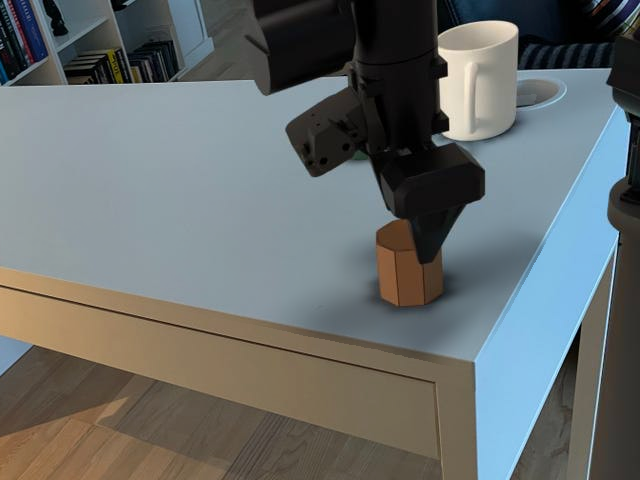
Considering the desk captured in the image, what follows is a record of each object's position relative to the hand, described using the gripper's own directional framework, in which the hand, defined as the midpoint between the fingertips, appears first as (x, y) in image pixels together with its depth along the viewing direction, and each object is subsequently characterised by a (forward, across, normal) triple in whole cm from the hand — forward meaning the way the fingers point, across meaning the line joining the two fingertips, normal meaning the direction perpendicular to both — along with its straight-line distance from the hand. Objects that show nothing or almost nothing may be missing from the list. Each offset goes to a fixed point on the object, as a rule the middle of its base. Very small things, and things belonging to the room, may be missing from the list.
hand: (408, 234), depth 64 cm
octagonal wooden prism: (+6, 0, 0) cm, 6 cm away
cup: (+6, -26, +15) cm, 30 cm away
